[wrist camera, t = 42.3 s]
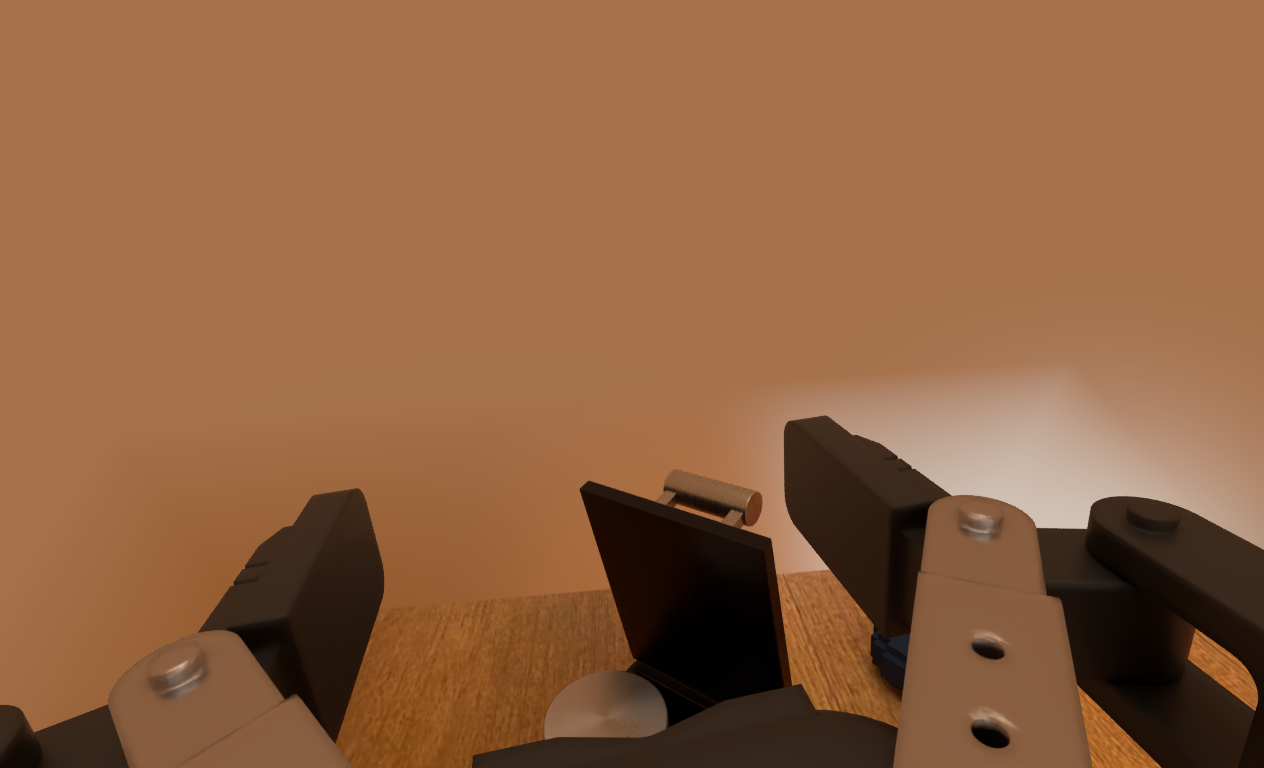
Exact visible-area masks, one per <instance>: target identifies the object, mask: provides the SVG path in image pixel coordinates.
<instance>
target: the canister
mask: <svg viewBox="0 0 1264 768" xmlns="http://www.w3.org/2000/svg"><path fill="white" fill-rule="evenodd" d="M666 728H669V717H668V709H667V705H666V702H665V700H664V698H663V696H662V694H661V693H660V691H659V690H658V689H657V688H656V687H655V686H654V685H653V684H652V683H651V682H650V681H648V680H646V679H645V678H643V677H641V676H639V675H636V674H633V673H630V672H626V671H617V670H609V671H601V672H596V673H592V674H589V675H586V676H584V677H581V678H579V679H578V680H576V681H574V682H572V683H571V684H569V685H568V686H567V687H566V688H564V689H563V690H562V691H561V692H560V693H559V694H558V695H557V696H556V698H555V699H554V700H553V702H552V703H551V705H550V707H549V709H548V711H547V714H546V717H545V720H544V727H543V733H544V740H546V739H551V738H555V737H631V738H639V737H647V736H651V735H653V734H656V733H658V732H660V731H662V730H664V729H666Z"/></svg>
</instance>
